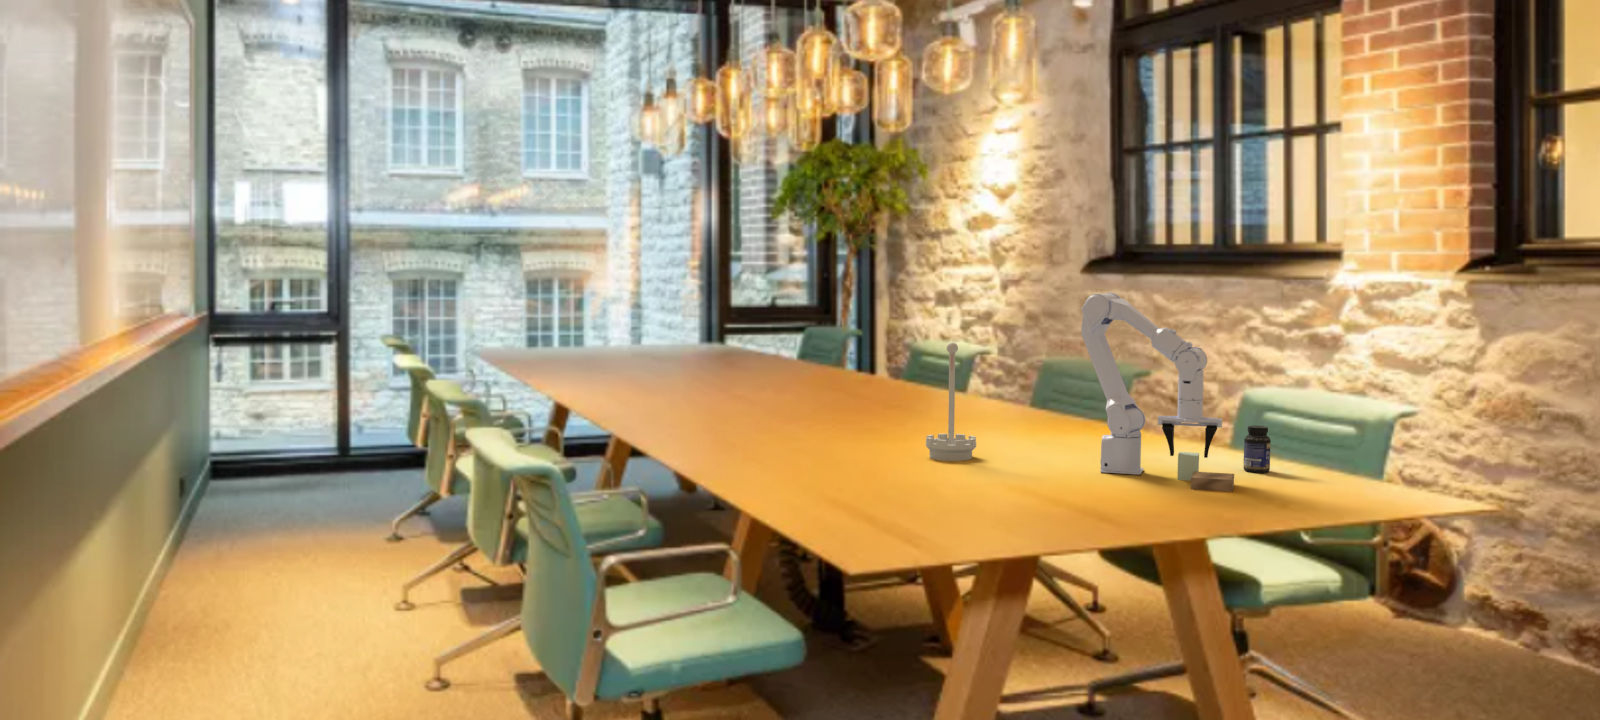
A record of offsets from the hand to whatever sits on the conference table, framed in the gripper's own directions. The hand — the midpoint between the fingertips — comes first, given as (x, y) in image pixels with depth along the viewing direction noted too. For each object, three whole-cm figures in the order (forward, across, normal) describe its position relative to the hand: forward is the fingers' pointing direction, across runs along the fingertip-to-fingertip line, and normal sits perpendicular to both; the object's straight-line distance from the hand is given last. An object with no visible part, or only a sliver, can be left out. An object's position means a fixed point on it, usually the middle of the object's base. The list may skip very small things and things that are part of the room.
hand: (1188, 456), depth 308 cm
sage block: (+5, 0, 0) cm, 5 cm away
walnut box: (+6, +6, -9) cm, 12 cm away
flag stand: (+5, -60, +10) cm, 61 cm away
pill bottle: (+6, +15, +17) cm, 23 cm away
